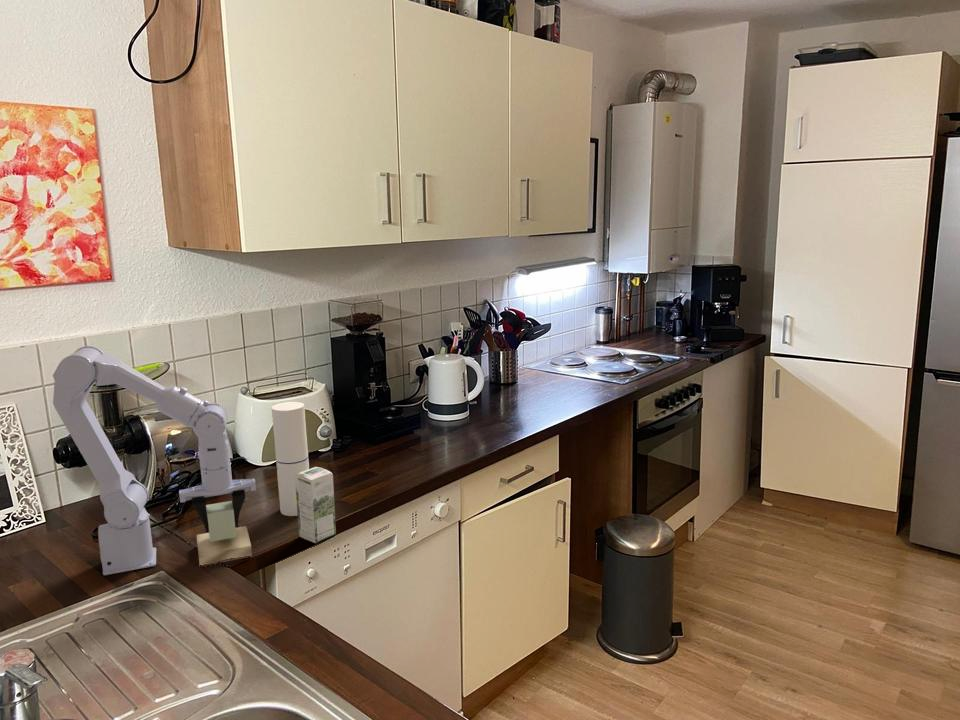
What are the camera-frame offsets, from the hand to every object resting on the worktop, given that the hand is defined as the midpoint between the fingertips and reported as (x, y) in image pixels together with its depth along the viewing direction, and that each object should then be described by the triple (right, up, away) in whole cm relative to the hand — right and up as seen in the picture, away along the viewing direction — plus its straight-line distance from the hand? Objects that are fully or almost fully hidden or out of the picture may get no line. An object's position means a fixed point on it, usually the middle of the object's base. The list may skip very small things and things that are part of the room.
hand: (222, 528), depth 153 cm
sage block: (0, -1, +1) cm, 2 cm away
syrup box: (+18, -4, +7) cm, 20 cm away
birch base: (0, -6, +1) cm, 6 cm away
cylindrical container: (+10, -1, +21) cm, 23 cm away
